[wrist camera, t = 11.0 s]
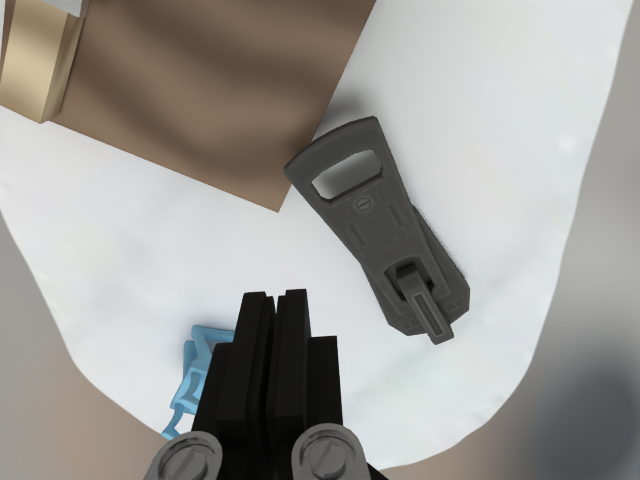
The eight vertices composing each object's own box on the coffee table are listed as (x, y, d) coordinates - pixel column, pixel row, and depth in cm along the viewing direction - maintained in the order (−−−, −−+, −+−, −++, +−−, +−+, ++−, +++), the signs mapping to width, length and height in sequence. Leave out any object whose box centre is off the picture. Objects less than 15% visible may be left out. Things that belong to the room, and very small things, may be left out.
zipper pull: (380, 105, 29) (498, 342, 40) (369, 87, 34) (474, 298, 45) (269, 168, 31) (410, 377, 42) (276, 141, 37) (398, 331, 47)
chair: (201, 309, 45) (166, 402, 35) (271, 336, 47) (259, 432, 37) (177, 356, 49) (140, 454, 38) (244, 380, 51) (226, 478, 40)
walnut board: (45, -265, 24) (30, -279, 23) (398, -55, 30) (402, -58, 28) (9, 95, 34) (-4, 99, 33) (279, 205, 39) (278, 212, 38)
